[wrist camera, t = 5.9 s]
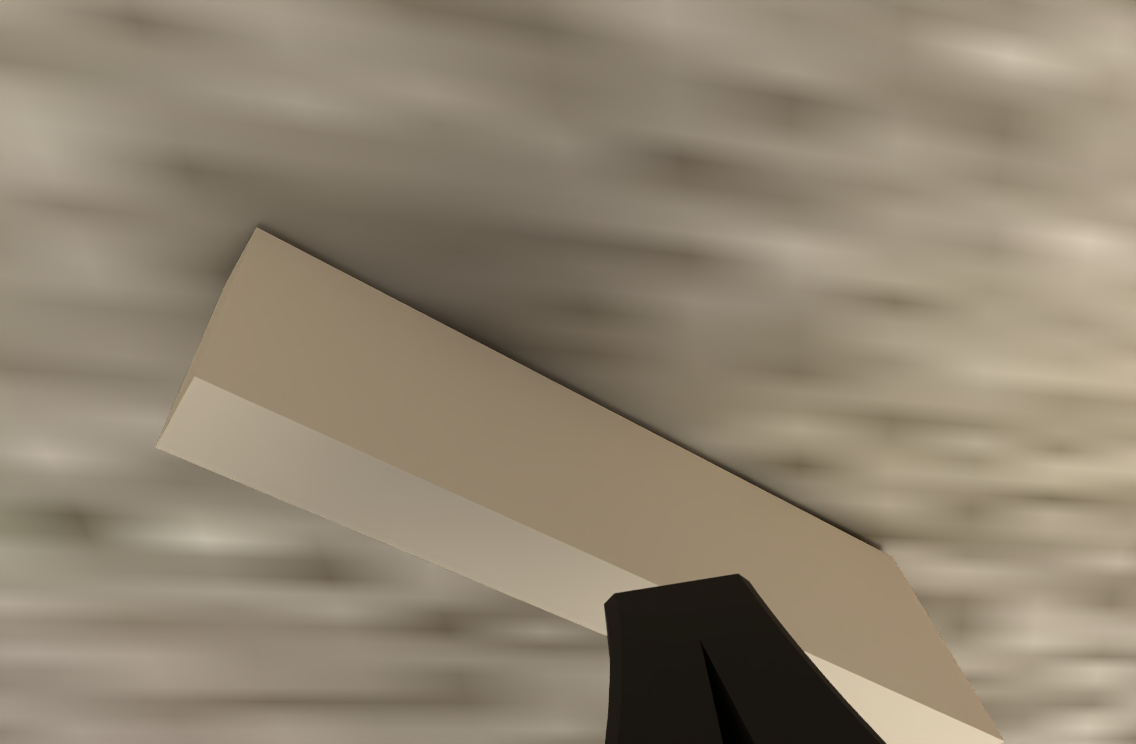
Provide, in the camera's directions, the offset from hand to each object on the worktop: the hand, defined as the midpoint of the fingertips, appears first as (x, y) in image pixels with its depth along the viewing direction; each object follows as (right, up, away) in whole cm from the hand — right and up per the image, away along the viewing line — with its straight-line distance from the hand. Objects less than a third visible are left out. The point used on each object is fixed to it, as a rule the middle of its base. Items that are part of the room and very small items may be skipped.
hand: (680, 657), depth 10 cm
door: (0, +2, +10) cm, 10 cm away
